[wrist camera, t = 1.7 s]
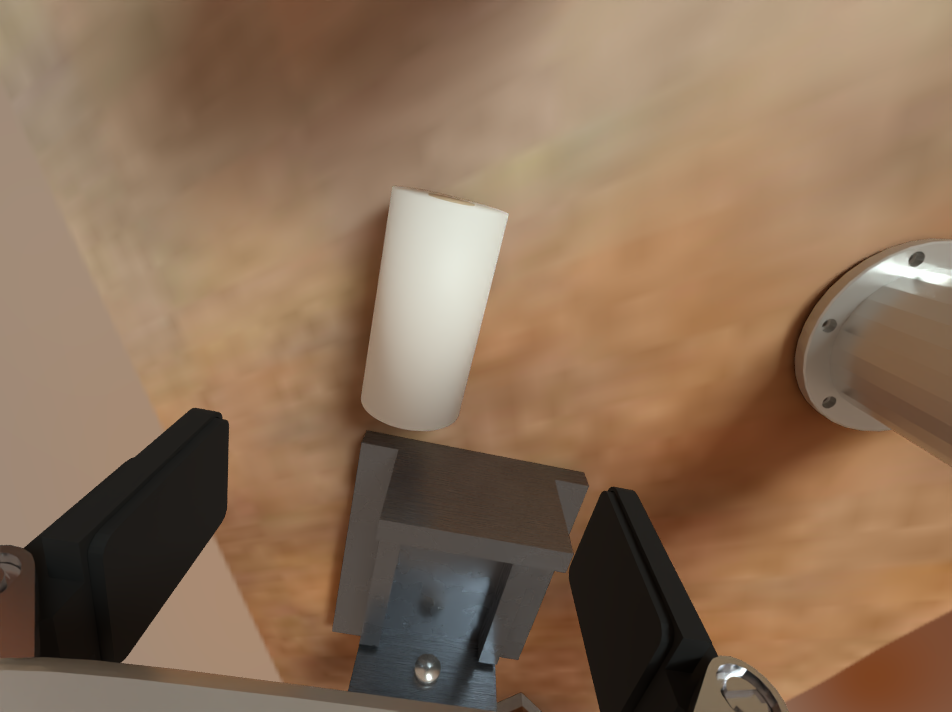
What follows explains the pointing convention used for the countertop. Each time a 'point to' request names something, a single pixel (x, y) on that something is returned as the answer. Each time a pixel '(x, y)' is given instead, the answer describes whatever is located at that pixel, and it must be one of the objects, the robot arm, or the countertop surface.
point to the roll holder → (448, 565)
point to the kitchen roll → (429, 306)
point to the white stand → (517, 704)
